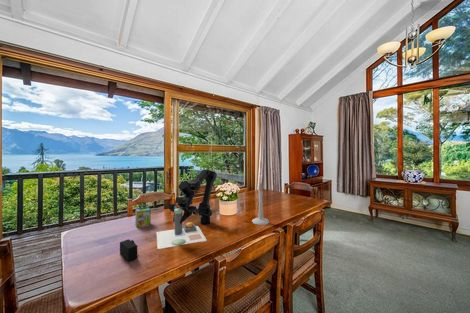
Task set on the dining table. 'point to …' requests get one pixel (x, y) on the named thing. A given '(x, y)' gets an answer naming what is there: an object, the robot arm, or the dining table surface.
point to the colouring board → (178, 238)
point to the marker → (178, 220)
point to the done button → (189, 225)
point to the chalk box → (143, 216)
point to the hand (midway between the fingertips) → (177, 222)
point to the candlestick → (260, 211)
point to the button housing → (189, 228)
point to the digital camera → (128, 250)
